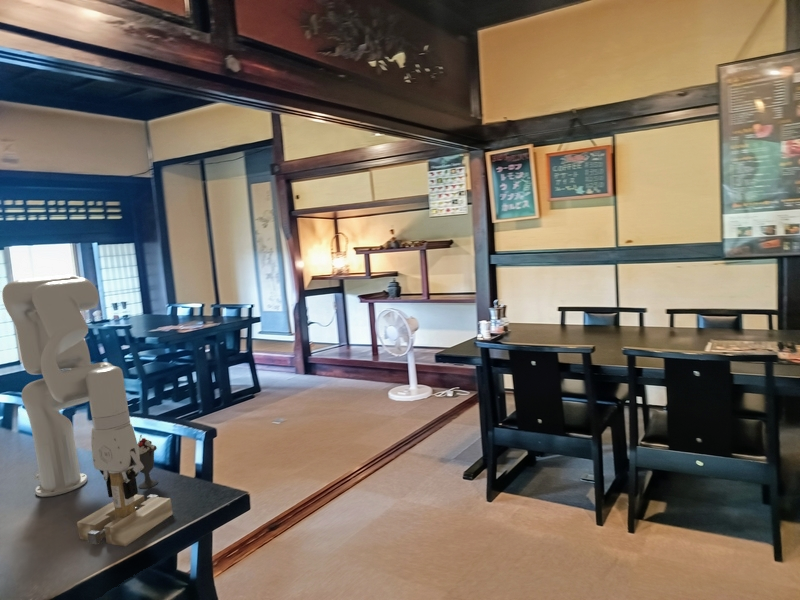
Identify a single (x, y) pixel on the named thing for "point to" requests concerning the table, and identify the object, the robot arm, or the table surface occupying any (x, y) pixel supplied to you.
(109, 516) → the slotted wooden block
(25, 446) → the table surface
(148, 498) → the plunger
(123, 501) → the sprinkles bottle
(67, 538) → the table surface
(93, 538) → the plunger
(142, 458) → the sundae
